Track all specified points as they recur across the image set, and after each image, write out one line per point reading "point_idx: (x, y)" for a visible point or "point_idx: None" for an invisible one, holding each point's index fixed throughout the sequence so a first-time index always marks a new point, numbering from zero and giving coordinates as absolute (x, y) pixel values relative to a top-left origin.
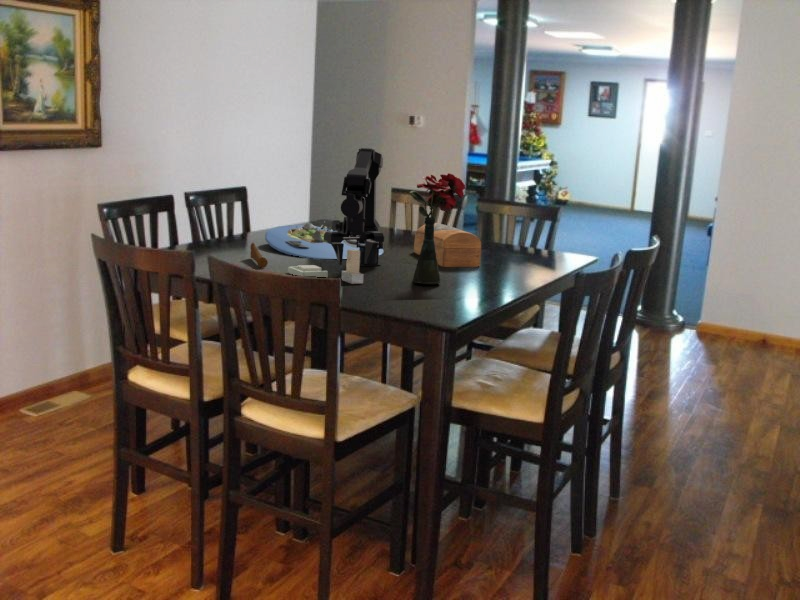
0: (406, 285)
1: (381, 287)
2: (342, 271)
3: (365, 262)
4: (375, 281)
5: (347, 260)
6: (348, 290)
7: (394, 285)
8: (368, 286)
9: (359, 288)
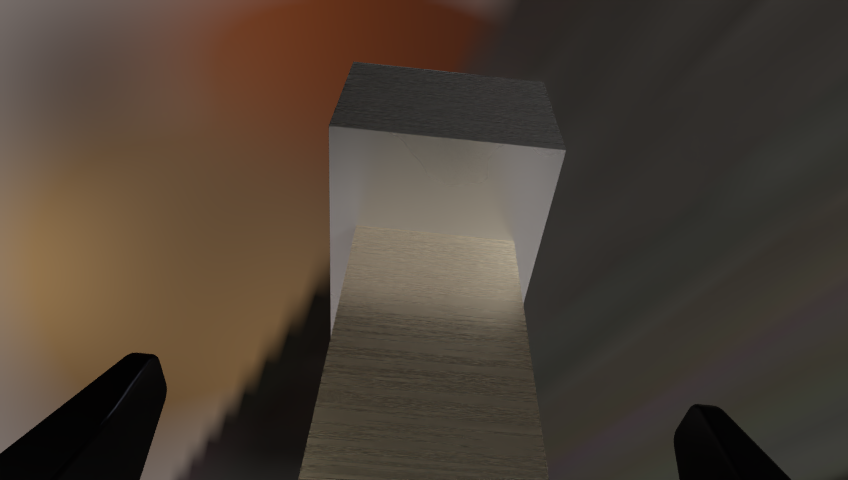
0: None
1: None
2: (330, 145)
3: (690, 438)
4: (710, 281)
5: (322, 404)
6: (186, 469)
7: None
8: None
9: None
